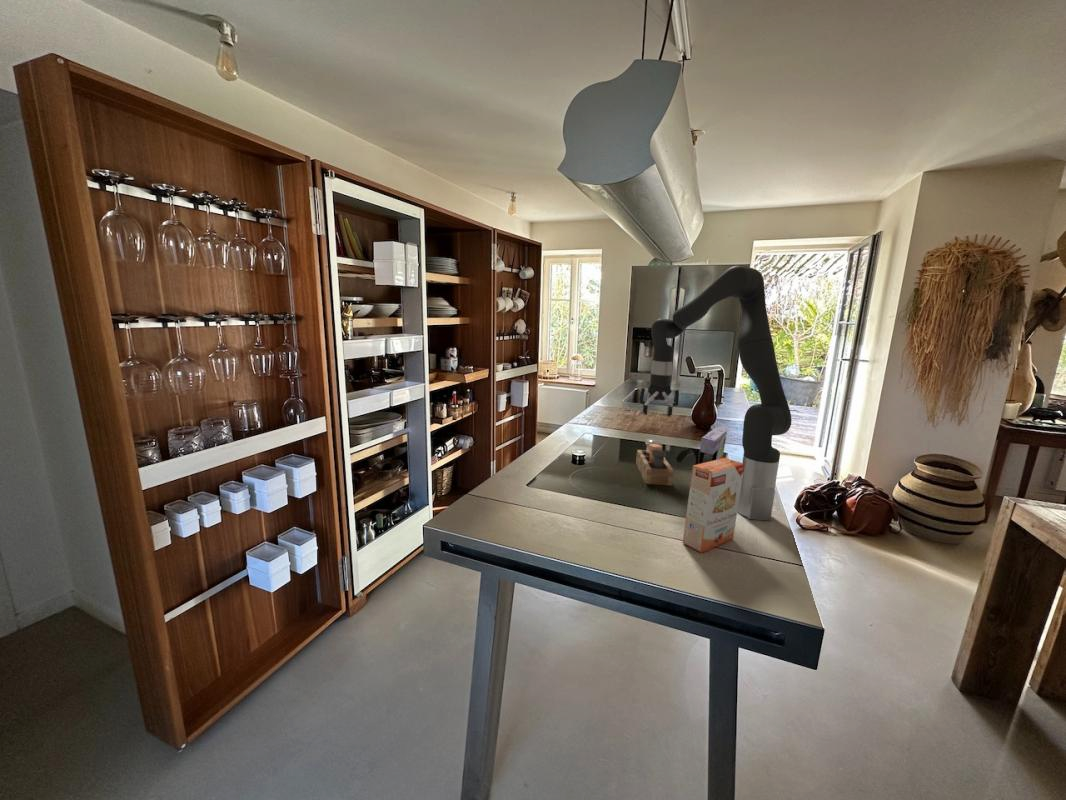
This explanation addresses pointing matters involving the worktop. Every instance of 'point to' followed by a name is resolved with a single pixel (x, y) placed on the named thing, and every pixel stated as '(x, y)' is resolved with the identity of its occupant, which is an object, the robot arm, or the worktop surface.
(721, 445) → the cake pan box
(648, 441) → the steel plug
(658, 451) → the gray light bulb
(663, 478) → the light wood long tray
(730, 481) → the cracker box
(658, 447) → the terracotta plug
